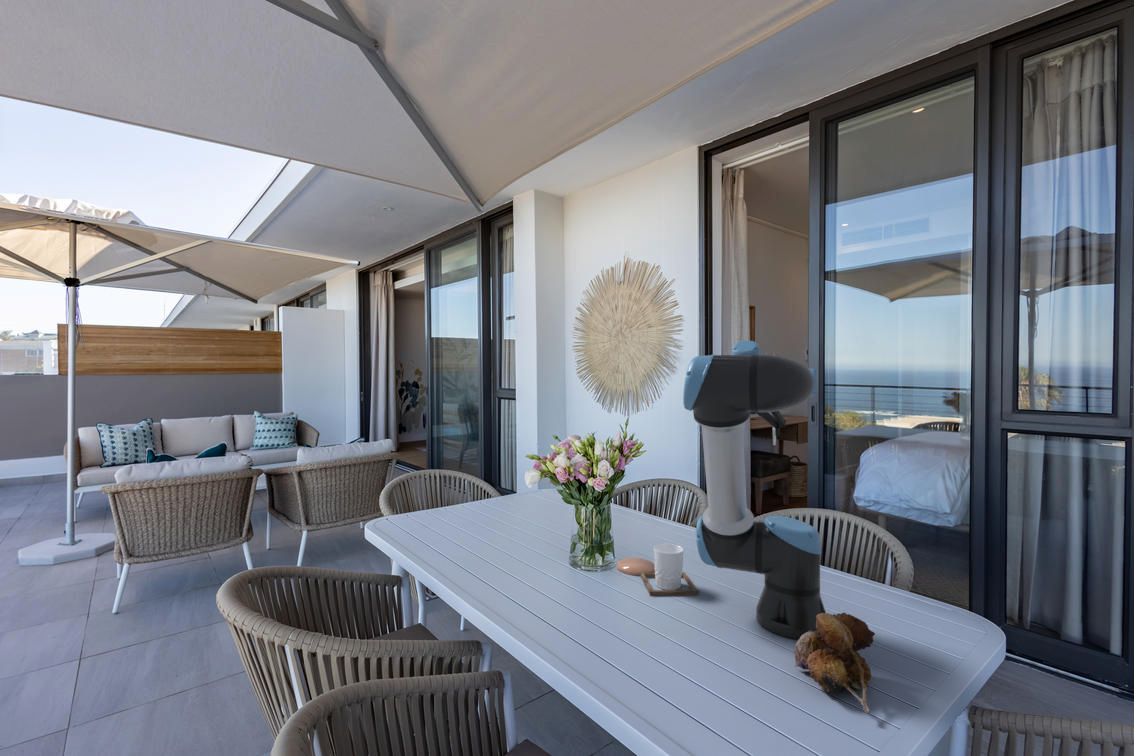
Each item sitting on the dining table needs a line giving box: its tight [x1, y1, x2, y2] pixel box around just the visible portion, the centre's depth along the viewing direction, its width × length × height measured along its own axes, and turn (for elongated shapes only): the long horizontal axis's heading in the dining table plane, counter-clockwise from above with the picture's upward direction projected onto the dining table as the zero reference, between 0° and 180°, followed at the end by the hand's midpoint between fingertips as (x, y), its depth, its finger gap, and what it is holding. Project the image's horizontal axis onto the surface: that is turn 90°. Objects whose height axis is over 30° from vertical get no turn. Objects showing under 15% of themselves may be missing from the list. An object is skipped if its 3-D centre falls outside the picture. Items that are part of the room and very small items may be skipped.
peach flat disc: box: [616, 557, 655, 576], centre depth 150 cm, size 11×11×1 cm
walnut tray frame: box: [640, 571, 699, 597], centre depth 138 cm, size 13×13×1 cm
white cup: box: [653, 543, 684, 590], centre depth 138 cm, size 8×8×10 cm
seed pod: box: [793, 612, 876, 714], centre depth 94 cm, size 13×16×15 cm
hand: (752, 441), depth 165 cm, fingers open, 13 cm apart
